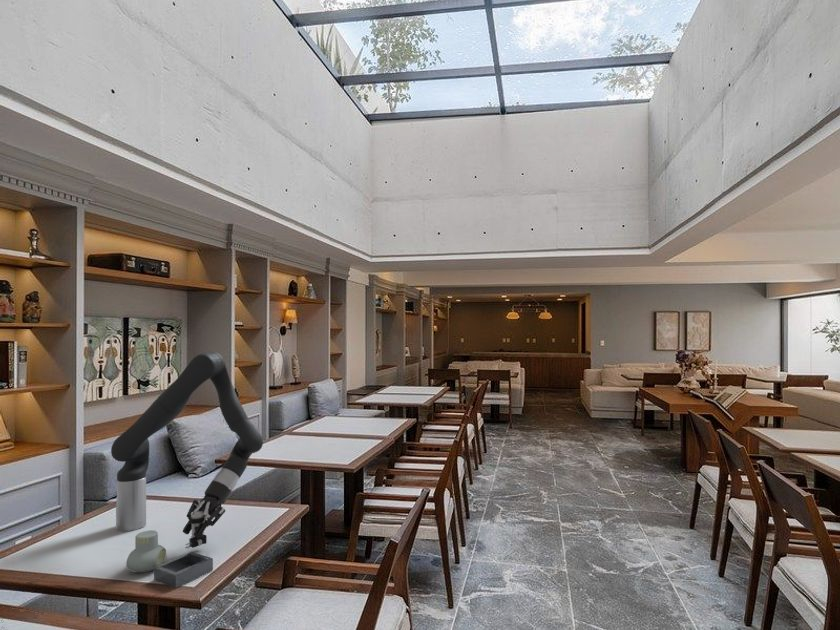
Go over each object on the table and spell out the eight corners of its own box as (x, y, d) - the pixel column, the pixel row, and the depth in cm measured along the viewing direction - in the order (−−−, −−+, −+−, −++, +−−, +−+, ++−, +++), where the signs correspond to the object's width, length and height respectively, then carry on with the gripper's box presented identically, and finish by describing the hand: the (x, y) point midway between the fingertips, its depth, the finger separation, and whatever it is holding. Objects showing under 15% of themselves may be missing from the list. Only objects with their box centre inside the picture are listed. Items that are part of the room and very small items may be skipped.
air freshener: (153, 576, 147) (153, 540, 148) (123, 577, 147) (123, 542, 147) (168, 559, 158) (168, 526, 158) (140, 560, 157) (140, 527, 158)
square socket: (153, 580, 145) (153, 567, 145) (191, 563, 155) (191, 551, 155) (175, 588, 140) (175, 575, 140) (212, 570, 150) (212, 558, 150)
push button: (190, 551, 159) (190, 518, 159) (181, 547, 162) (180, 515, 162) (210, 543, 165) (210, 512, 165) (200, 540, 168) (200, 509, 168)
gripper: (201, 476, 174) (168, 525, 163) (230, 482, 167) (197, 533, 156) (214, 488, 178) (183, 536, 168) (243, 494, 171) (212, 544, 160)
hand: (190, 534), depth 162 cm, fingers closed on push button, 4 cm apart
